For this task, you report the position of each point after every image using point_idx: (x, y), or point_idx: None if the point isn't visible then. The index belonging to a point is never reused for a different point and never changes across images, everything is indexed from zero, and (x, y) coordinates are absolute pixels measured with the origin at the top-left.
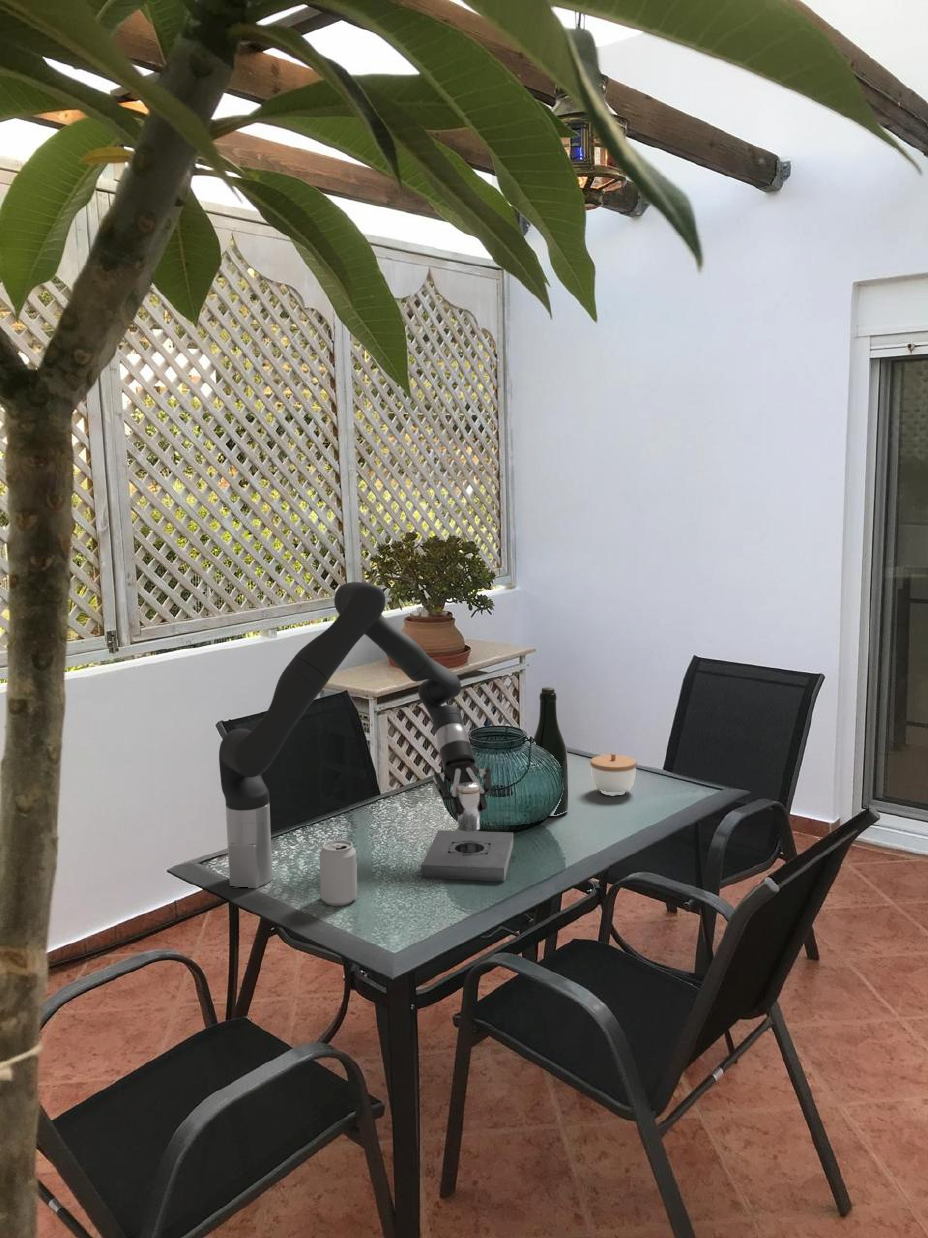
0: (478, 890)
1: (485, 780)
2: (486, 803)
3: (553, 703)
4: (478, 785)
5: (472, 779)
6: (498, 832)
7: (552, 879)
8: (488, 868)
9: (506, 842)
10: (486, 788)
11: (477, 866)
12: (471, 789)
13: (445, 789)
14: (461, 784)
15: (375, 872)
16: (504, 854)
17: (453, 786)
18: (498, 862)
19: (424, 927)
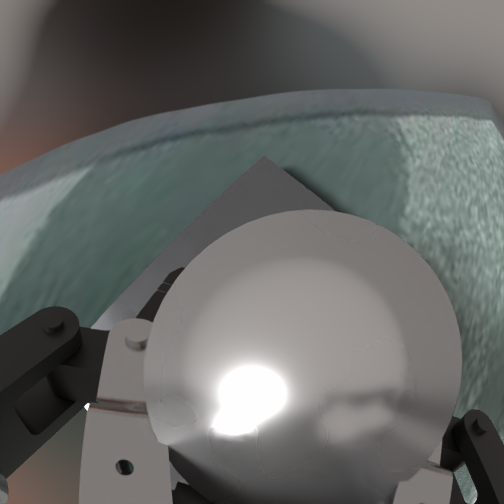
0: (341, 175)
1: (4, 403)
2: (165, 280)
3: None
4: (212, 256)
5: (164, 490)
6: (87, 406)
7: (162, 132)
8: (299, 183)
9: (120, 315)
10: (73, 331)
11: (323, 205)
12: (358, 225)
13: (489, 450)
14: (391, 446)
15: (476, 400)
16: (195, 232)
17: (441, 469)
18: (253, 192)
19: (462, 136)
